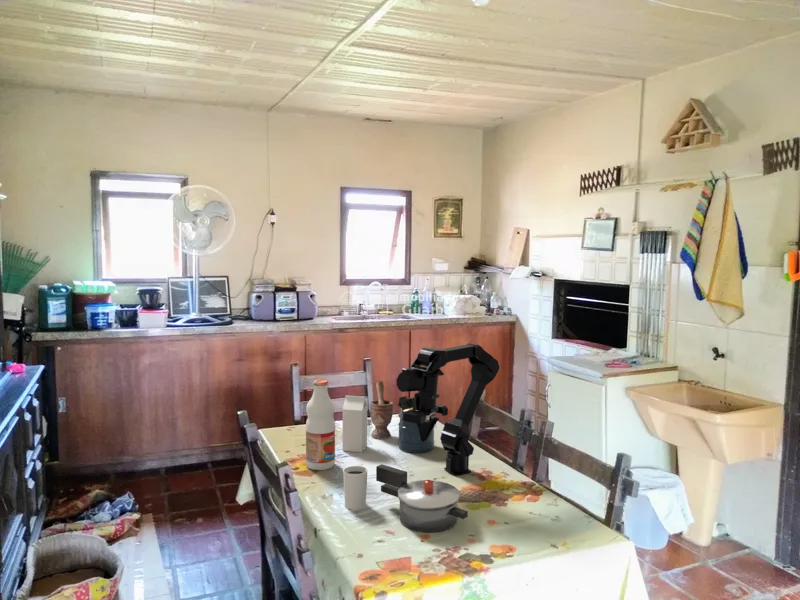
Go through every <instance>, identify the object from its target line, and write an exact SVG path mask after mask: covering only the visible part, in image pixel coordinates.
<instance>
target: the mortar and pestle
mask: <svg viewBox="0 0 800 600" xmlns="http://www.w3.org/2000/svg"><path fill="white" fill-rule="evenodd" d="M375 385H376V392H377V398H378V399H377V400H371V401H370V402H369V404H370V406H369V407H370V412H369V413H370V419H371V422H372V424H373V426H374V427H375V428H374V429H373V430H372V431H371V434H370V435H371V437H372V438H374V439H378V440H383V439H388V438H391V436H392V435H391V432H390V430H389V429H388V426H389V425H390V424H391V423H392V418H393V414H394V413H393V409H394V403H393V401H390V400H385V398H384V381H381V380H379V381H376V384H375Z"/></svg>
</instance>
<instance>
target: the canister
mask: <svg viewBox="0 0 800 600" xmlns="http://www.w3.org/2000/svg"><path fill="white" fill-rule="evenodd" d="M400 410H401V412H400V413H399V414H398V418H399V422H398V440H397V443H398V448H399V449H400V450H401V451H403V452H406V453H413V454H422V453H429V452H431V451H432V450H433V449H434V447H435V427H434V428H433V429H432V431H431V433H430V435H429V437H428V438H427V440H426V441H425V442H422V441H421V438H420V434H419V429H418V426H417V424H416V423H412V422H407V421H403V420H402V415H403V413H404V412H405V411H408V410H412V408H410V409H405V410H403V411H402V409H401V408H400ZM416 411H418V410H416Z"/></svg>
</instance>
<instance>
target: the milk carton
mask: <svg viewBox="0 0 800 600" xmlns="http://www.w3.org/2000/svg"><path fill="white" fill-rule="evenodd" d="M341 429H342V434H341V436H342V437H341V439H342V441H341V442H342V444H341V445H342V446H341V447H342V448H341V449H342V451H343V452H351V453H352V452H353V453H362V452H363V451H364V450H365V449H366V448H367V446H368V403H367V401H366V396H359V395H358V396H357V395H345V397H344V403H343V405H342V428H341Z"/></svg>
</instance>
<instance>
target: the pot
mask: <svg viewBox="0 0 800 600" xmlns="http://www.w3.org/2000/svg"><path fill="white" fill-rule="evenodd" d="M398 490H399V488H397V487H394V486H391V485H388V484H385V483H383V484H382V485H380V492H381V493H384V494H387V495H390V496H393V497H396V498H398ZM468 515H469V511H468V510H465V509H462V508H460V507H458V502H457V503H456V504H455V505H453V506H450V507H447V508H443V509H435V510H426V509H418V508H413V507H410V506H407V505H405V504H404V503H402V502H401V501H400V500H399V522H400V524H401V525H402V526H404V527H405V528H406V529H409V530H412V531H413V532H418V533H424V534H425V533H427V534H435V533H442V532H446V531H449V530H451V529H452V528H454V527H455V526H456V525H457V522H458V519H462V520H464V519H466V518H468Z"/></svg>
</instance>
